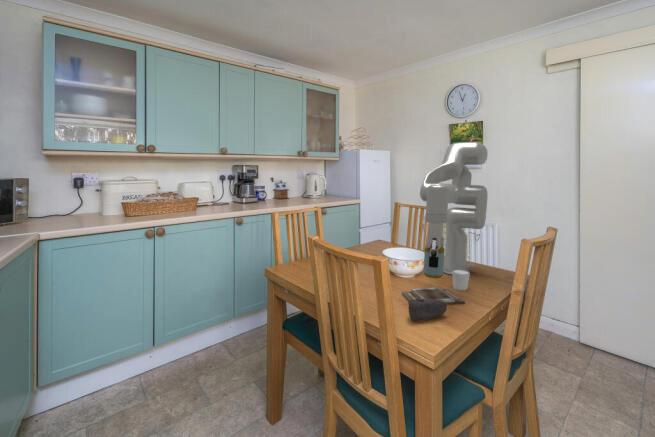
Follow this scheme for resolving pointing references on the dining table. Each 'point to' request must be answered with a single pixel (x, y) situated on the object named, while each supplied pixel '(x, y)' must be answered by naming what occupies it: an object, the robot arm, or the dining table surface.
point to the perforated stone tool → (426, 309)
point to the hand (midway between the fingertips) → (433, 264)
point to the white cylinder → (460, 279)
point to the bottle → (438, 272)
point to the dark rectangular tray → (434, 295)
